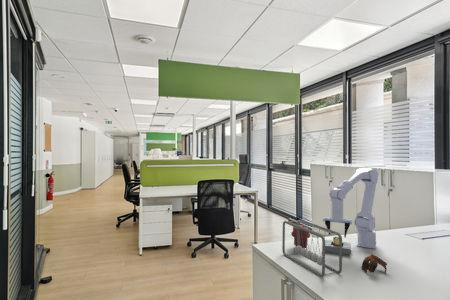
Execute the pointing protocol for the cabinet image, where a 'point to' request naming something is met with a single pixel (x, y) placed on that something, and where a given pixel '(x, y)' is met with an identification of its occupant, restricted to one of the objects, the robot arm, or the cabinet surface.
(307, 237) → the mechanical component
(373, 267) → the brown sunglasses
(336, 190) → the robot arm
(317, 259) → the newton's cradle
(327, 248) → the block
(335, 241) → the bushing
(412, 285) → the cabinet surface
